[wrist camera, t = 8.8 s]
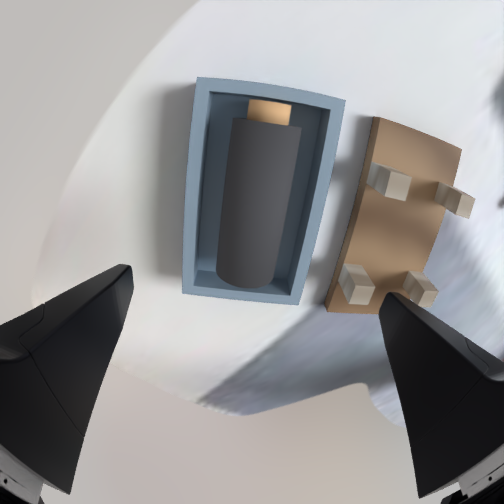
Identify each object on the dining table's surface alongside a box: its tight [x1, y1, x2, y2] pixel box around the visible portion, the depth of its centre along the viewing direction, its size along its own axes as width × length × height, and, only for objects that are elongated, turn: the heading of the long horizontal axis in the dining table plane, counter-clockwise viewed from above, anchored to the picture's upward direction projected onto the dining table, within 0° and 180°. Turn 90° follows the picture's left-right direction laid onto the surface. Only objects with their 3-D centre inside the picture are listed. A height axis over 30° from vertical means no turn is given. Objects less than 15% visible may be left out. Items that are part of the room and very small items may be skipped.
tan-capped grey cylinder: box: [216, 99, 302, 288], centre depth 17 cm, size 11×4×4 cm, turn 172°
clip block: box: [324, 117, 475, 314], centre depth 19 cm, size 16×8×4 cm, turn 172°
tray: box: [182, 77, 346, 305], centre depth 19 cm, size 15×9×3 cm, turn 172°
